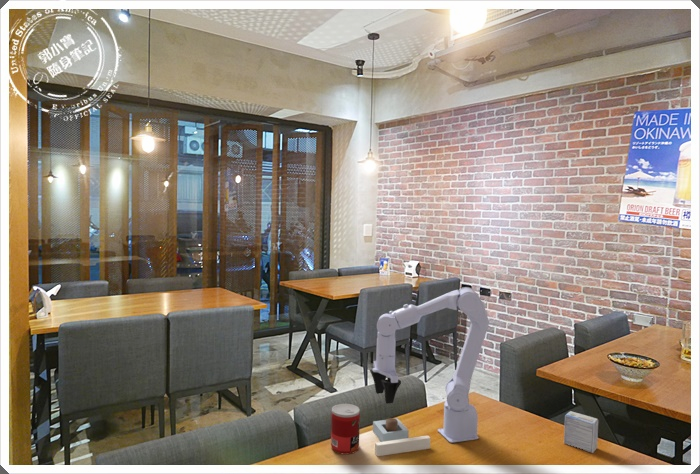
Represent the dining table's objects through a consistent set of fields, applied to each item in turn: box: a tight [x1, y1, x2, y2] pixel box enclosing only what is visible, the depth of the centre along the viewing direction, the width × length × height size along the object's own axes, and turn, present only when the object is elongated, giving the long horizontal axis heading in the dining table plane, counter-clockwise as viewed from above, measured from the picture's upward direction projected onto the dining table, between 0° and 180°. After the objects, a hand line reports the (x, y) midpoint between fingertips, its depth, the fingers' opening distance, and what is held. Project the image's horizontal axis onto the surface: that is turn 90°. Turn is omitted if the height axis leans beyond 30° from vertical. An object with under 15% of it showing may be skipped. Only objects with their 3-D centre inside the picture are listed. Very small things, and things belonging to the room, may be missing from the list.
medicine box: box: [563, 410, 599, 454], centre depth 131 cm, size 8×4×9 cm, turn 47°
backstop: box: [374, 434, 431, 457], centre depth 126 cm, size 16×2×3 cm, turn 108°
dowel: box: [385, 417, 398, 432], centre depth 133 cm, size 3×3×5 cm
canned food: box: [330, 403, 361, 455], centre depth 126 cm, size 8×8×11 cm
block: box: [372, 418, 410, 442], centre depth 134 cm, size 8×8×3 cm
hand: (384, 397), depth 138 cm, fingers open, 7 cm apart
